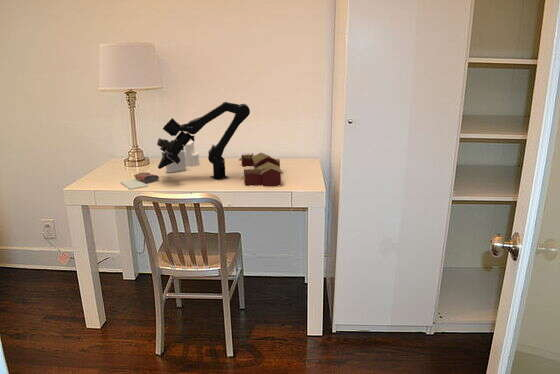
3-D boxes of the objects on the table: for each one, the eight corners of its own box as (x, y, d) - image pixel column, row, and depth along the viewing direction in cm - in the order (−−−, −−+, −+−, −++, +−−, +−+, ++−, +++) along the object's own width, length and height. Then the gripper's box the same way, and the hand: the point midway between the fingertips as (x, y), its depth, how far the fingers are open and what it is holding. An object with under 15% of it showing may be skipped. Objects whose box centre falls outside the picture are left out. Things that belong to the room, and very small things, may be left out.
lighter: (158, 181, 227) (147, 177, 234) (158, 174, 226) (147, 170, 233) (144, 183, 221) (132, 179, 228) (144, 176, 221) (132, 172, 227)
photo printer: (184, 168, 248) (182, 145, 244) (187, 170, 244) (185, 147, 241) (165, 171, 242) (163, 148, 239) (168, 173, 239) (166, 149, 235)
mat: (148, 186, 218) (148, 185, 218) (130, 189, 213) (129, 188, 213) (137, 179, 229) (137, 178, 229) (120, 182, 224) (119, 181, 224)
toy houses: (286, 186, 218) (286, 164, 215) (242, 188, 215) (241, 166, 212) (273, 162, 261) (273, 144, 258) (235, 164, 258) (235, 145, 255)
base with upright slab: (184, 162, 261) (183, 141, 257) (200, 162, 260) (199, 141, 257) (180, 166, 252) (178, 144, 249) (197, 166, 252) (195, 144, 248)
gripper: (162, 129, 228) (141, 154, 227) (170, 135, 211) (148, 162, 210) (180, 143, 233) (160, 167, 232) (189, 150, 217) (167, 177, 216)
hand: (158, 168), depth 223 cm, fingers closed
